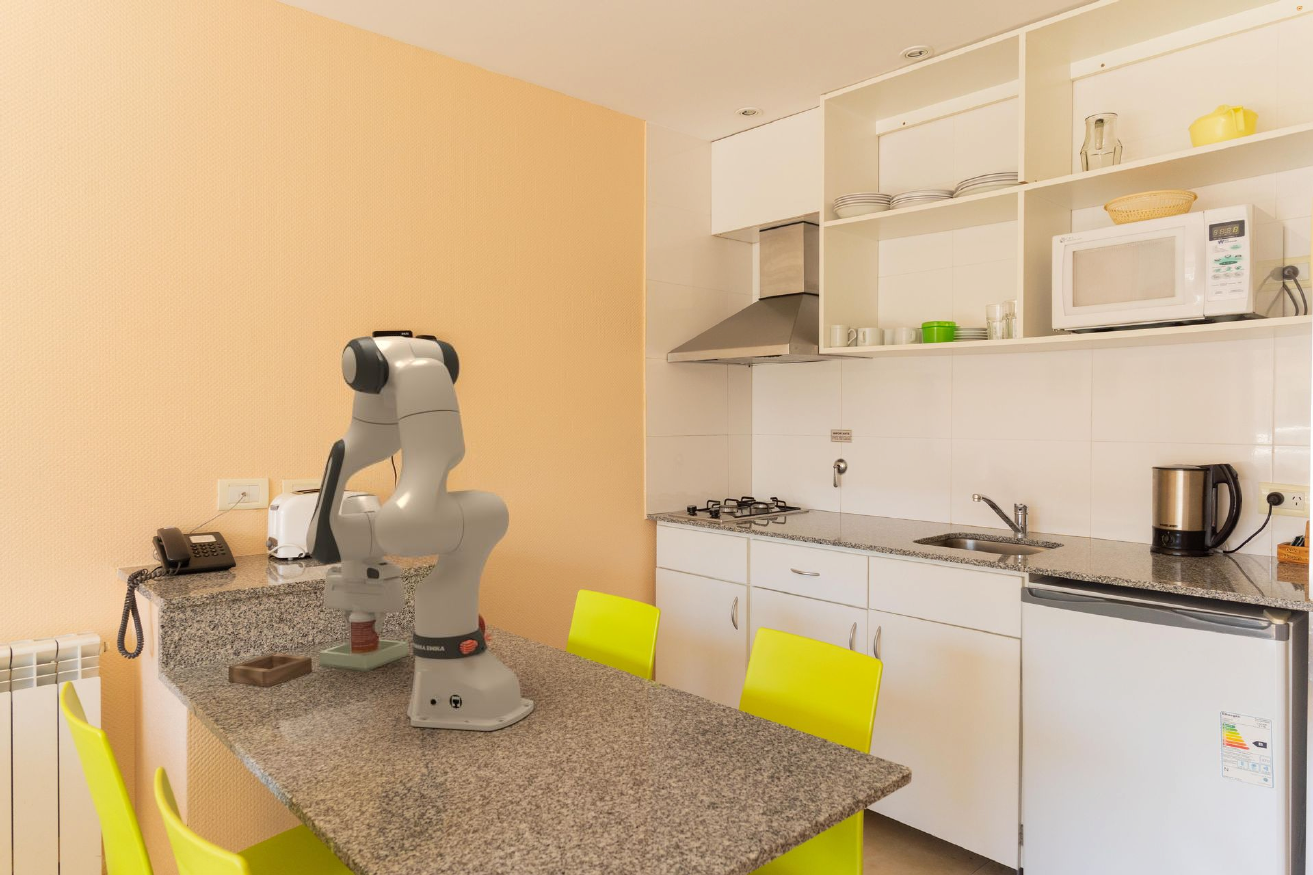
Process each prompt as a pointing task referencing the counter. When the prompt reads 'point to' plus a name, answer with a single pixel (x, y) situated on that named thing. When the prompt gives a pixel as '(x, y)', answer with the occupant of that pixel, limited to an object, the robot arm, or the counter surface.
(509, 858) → the counter surface
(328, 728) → the counter surface
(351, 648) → the pill bottle
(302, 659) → the collar
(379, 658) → the tray
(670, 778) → the counter surface
